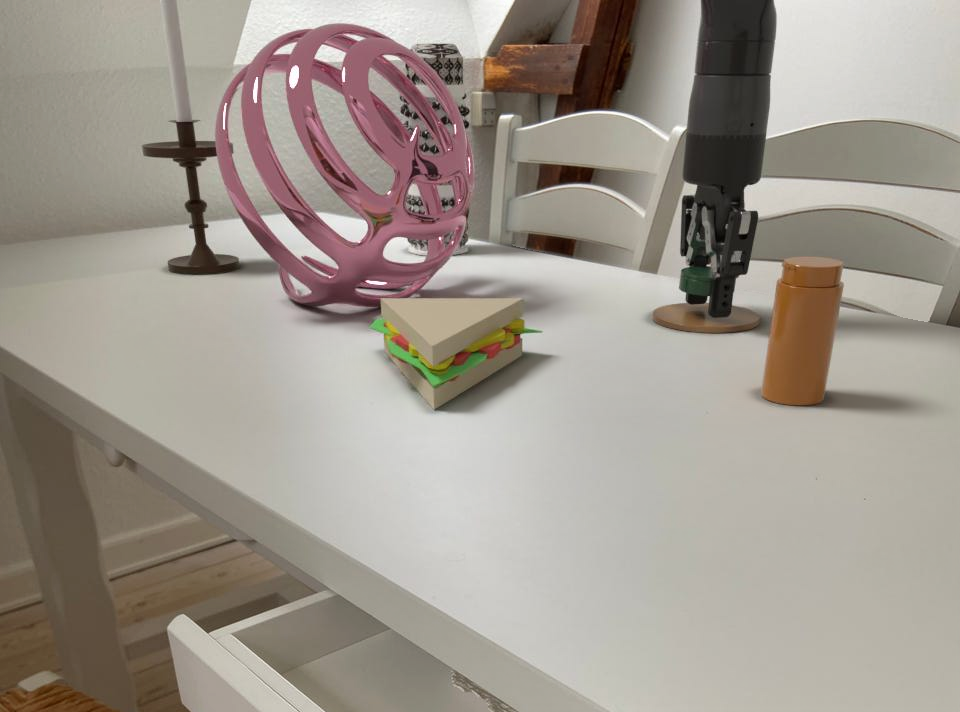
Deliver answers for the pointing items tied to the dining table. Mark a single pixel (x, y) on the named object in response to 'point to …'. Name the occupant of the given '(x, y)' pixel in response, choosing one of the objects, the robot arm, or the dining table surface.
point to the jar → (802, 330)
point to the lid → (696, 280)
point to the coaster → (704, 318)
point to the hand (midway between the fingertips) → (707, 309)
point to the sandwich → (450, 341)
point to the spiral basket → (384, 137)
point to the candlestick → (187, 155)
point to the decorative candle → (451, 72)
